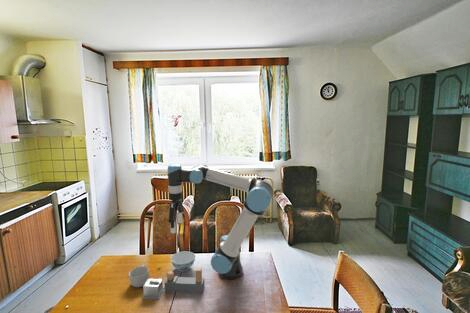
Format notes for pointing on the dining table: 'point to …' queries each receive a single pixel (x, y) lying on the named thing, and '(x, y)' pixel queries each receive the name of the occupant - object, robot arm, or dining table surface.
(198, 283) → the plane
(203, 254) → the dining table surface
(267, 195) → the robot arm
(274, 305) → the dining table surface
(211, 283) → the dining table surface
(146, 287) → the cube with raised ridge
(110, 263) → the dining table surface
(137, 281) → the teacup
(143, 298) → the mat
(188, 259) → the chinaware
